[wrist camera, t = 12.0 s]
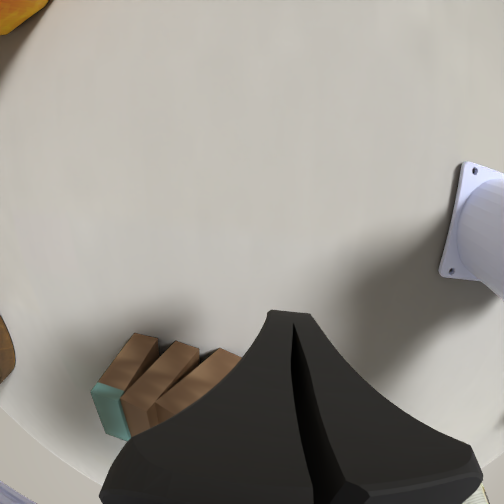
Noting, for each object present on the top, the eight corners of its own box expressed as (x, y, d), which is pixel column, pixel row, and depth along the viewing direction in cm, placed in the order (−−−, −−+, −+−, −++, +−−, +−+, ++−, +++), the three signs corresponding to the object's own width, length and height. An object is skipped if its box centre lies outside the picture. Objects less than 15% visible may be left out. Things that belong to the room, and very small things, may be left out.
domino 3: (243, 358, 21) (180, 418, 16) (238, 400, 23) (185, 457, 17) (219, 347, 22) (154, 401, 16) (218, 390, 24) (162, 442, 18)
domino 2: (199, 348, 22) (146, 411, 16) (199, 391, 23) (155, 451, 17) (175, 340, 22) (119, 398, 16) (178, 383, 24) (132, 439, 18)
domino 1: (157, 338, 22) (117, 401, 16) (162, 380, 24) (130, 442, 17) (134, 332, 22) (90, 391, 16) (140, 375, 24) (106, 433, 18)
